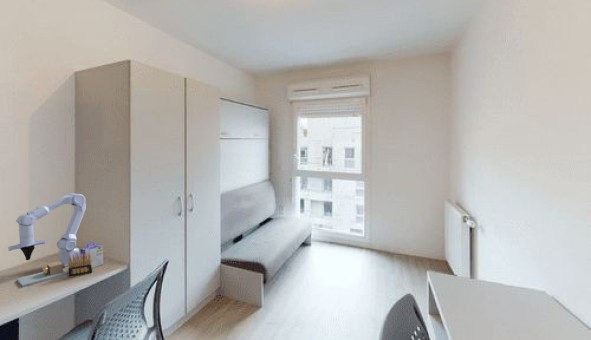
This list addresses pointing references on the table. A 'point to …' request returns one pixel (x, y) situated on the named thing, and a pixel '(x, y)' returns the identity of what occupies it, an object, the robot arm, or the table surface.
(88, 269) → the ammunition clip
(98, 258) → the ink cartridge box
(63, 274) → the mounting board
